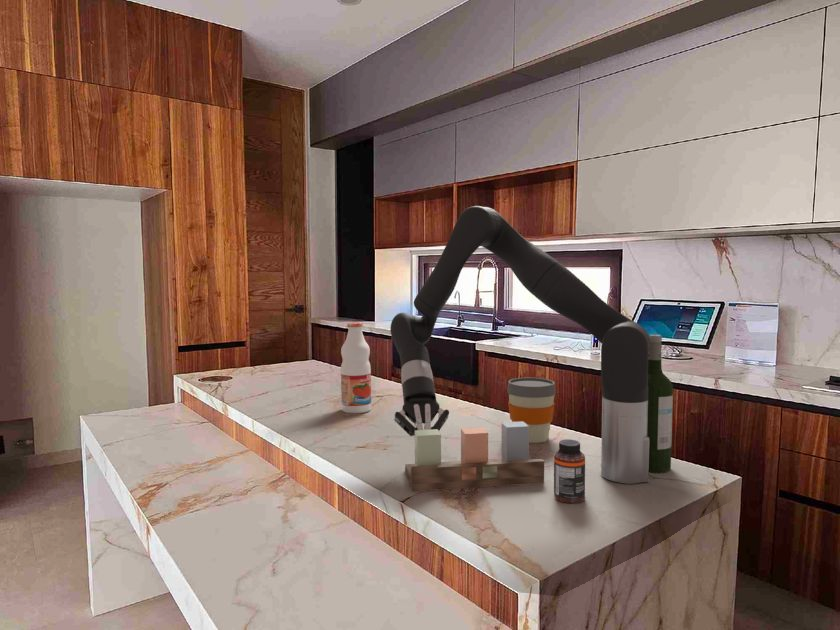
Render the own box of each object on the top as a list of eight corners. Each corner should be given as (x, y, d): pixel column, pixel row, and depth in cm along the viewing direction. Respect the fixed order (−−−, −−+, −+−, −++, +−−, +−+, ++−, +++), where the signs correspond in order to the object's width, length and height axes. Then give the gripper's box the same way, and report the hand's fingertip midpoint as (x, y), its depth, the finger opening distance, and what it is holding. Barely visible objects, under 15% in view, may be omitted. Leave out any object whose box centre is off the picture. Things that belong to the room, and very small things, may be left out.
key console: (525, 463, 133) (525, 443, 132) (544, 483, 121) (544, 461, 120) (405, 470, 129) (405, 450, 128) (412, 491, 117) (412, 469, 116)
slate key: (522, 460, 130) (523, 421, 129) (528, 466, 126) (529, 426, 125) (501, 461, 129) (501, 422, 128) (506, 467, 125) (506, 427, 124)
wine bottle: (639, 459, 135) (642, 332, 132) (675, 466, 130) (679, 334, 127) (627, 468, 129) (630, 335, 126) (664, 476, 124) (668, 338, 121)
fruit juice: (353, 405, 190) (351, 321, 187) (377, 408, 185) (375, 322, 183) (335, 411, 182) (333, 323, 179) (360, 415, 177) (358, 325, 175)
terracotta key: (483, 467, 125) (483, 427, 124) (488, 474, 121) (488, 432, 120) (460, 469, 125) (460, 428, 124) (465, 475, 121) (464, 434, 120)
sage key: (437, 469, 124) (437, 429, 124) (441, 476, 120) (440, 434, 120) (415, 471, 124) (414, 430, 123) (417, 478, 120) (417, 435, 119)
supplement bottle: (561, 489, 117) (562, 435, 116) (589, 497, 113) (590, 441, 112) (548, 499, 112) (548, 442, 112) (577, 507, 109) (577, 448, 108)
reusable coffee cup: (555, 446, 145) (556, 387, 144) (505, 443, 148) (506, 386, 146) (554, 432, 157) (555, 378, 156) (508, 429, 160) (508, 376, 159)
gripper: (390, 376, 131) (396, 444, 120) (447, 373, 133) (458, 441, 122) (389, 393, 137) (394, 460, 126) (443, 391, 139) (453, 457, 128)
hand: (426, 451), depth 124 cm, fingers closed
